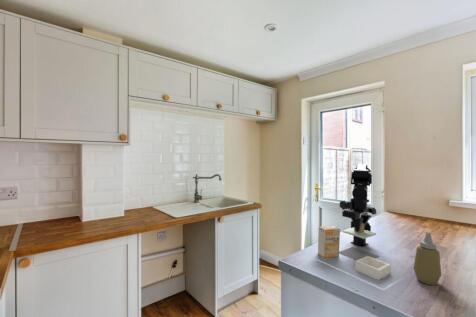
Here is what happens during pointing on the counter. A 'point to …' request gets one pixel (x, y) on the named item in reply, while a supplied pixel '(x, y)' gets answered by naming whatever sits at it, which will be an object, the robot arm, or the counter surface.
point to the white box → (373, 267)
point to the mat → (356, 253)
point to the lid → (359, 232)
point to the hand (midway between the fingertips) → (359, 230)
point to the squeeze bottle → (427, 261)
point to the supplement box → (328, 241)
